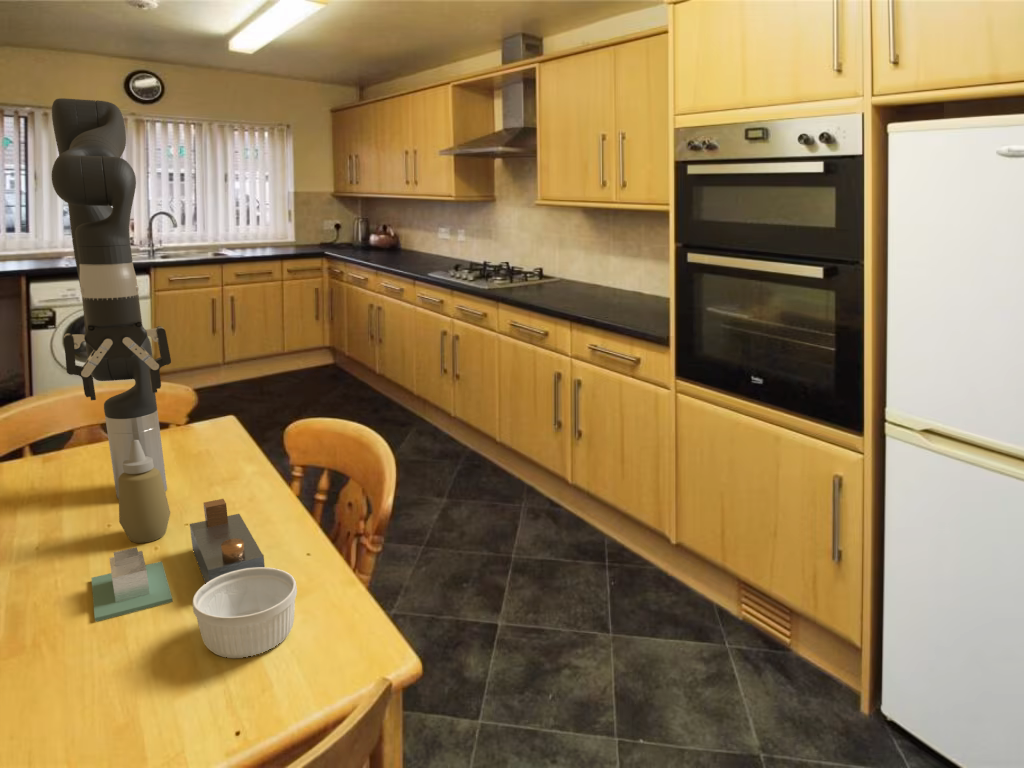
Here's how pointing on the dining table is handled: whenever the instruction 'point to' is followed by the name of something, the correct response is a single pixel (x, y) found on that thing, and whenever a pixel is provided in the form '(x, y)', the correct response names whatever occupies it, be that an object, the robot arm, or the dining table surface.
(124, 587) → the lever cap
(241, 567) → the plane body
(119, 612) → the mat
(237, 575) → the ramekin
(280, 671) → the dining table surface
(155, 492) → the squeeze bottle
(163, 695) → the dining table surface
